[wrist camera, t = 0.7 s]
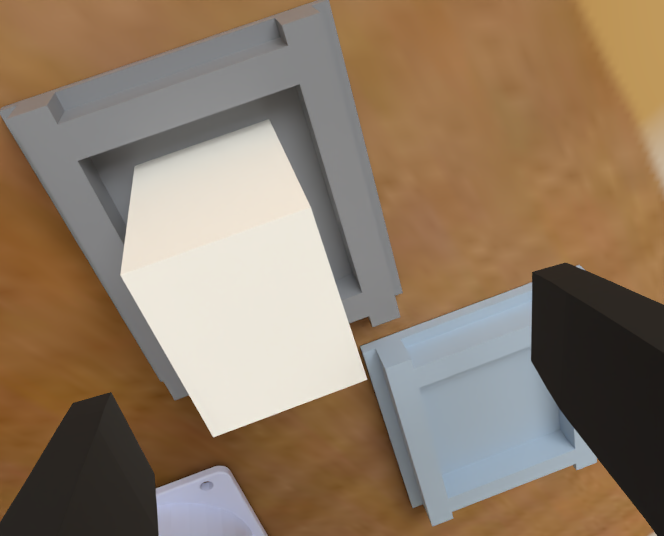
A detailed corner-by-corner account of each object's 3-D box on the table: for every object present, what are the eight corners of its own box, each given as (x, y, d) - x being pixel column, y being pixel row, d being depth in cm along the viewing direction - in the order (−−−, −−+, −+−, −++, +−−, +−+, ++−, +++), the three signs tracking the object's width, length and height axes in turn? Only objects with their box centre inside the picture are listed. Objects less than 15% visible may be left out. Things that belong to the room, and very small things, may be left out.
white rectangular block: (201, 301, 20) (213, 437, 15) (134, 166, 17) (120, 275, 12) (317, 260, 20) (367, 379, 15) (269, 119, 17) (310, 207, 12)
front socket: (160, 374, 21) (160, 405, 20) (1, 106, 16) (-14, 125, 14) (398, 286, 22) (413, 311, 20) (325, -3, 16) (339, 5, 15)
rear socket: (409, 501, 28) (421, 530, 27) (359, 346, 23) (372, 373, 21) (586, 432, 29) (607, 458, 27) (579, 264, 23) (604, 287, 22)
